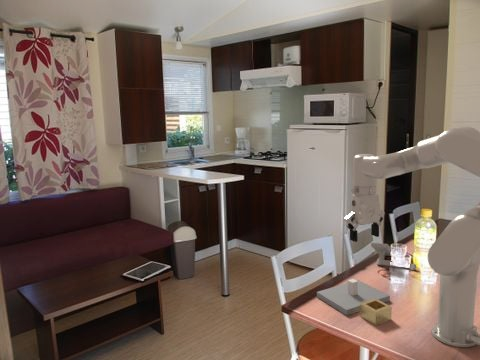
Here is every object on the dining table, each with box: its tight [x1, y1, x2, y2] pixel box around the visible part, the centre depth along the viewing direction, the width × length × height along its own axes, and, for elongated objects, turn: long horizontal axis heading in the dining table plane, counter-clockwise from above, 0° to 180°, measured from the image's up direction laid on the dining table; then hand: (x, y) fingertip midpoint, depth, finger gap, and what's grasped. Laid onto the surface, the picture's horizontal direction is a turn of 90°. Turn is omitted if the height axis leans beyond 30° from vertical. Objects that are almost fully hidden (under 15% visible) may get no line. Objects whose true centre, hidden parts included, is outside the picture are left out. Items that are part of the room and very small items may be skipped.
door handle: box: [370, 242, 417, 271], centre depth 180 cm, size 18×8×20 cm
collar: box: [359, 298, 393, 326], centre depth 136 cm, size 7×7×4 cm
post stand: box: [316, 278, 391, 316], centre depth 150 cm, size 16×20×7 cm
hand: (364, 238), depth 145 cm, fingers open, 9 cm apart
